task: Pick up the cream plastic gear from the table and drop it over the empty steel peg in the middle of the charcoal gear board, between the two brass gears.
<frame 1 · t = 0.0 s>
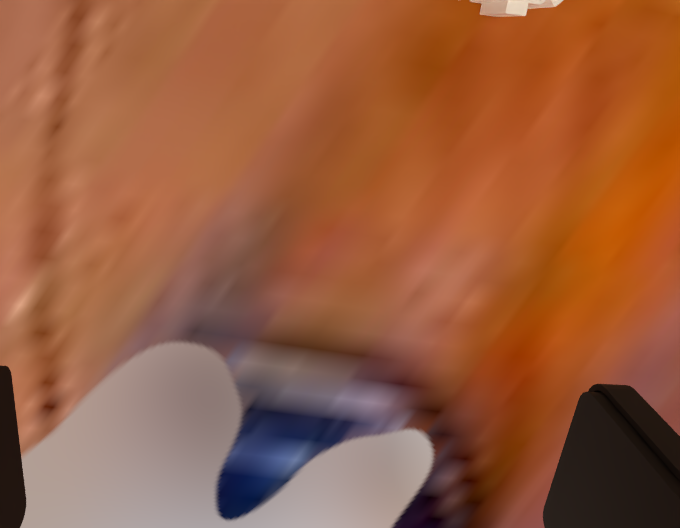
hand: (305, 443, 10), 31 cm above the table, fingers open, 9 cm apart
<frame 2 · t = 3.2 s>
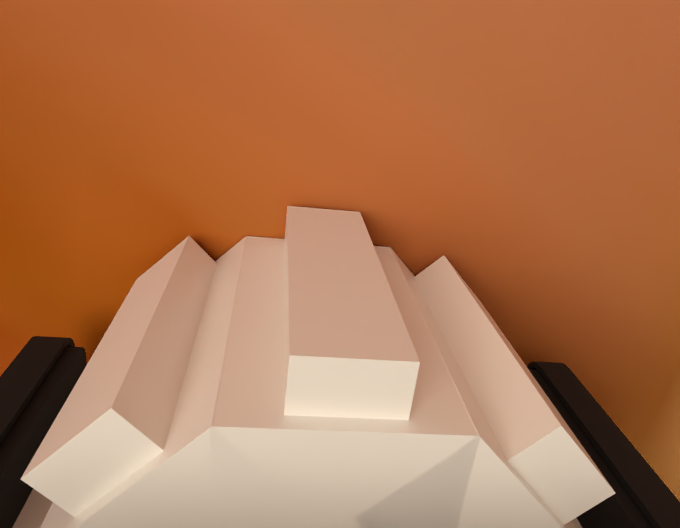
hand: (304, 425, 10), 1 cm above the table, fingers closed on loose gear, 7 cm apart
loose gear: (303, 388, 11), on the table, touching gripper
when the fingers open (5 cm above the table, at t = 9.3 s): loose gear drops 2 cm, resting on gear board.
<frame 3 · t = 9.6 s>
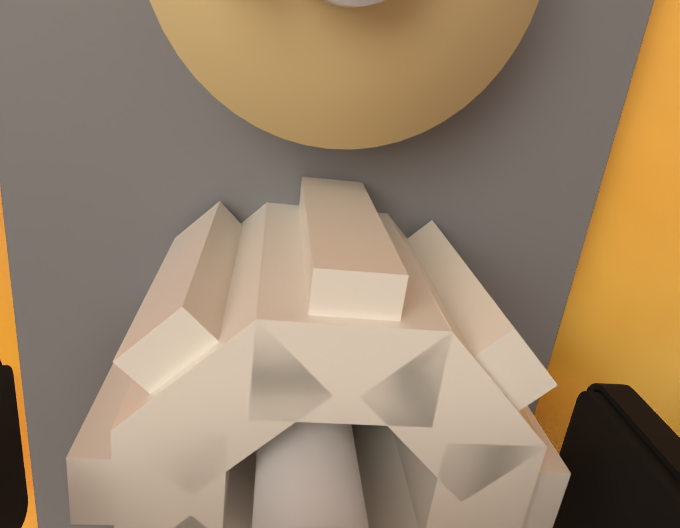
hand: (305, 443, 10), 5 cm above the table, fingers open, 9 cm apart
loose gear: (312, 335, 13), point 1 cm above the table, touching gear board
gear board: (298, 305, 14), on the table
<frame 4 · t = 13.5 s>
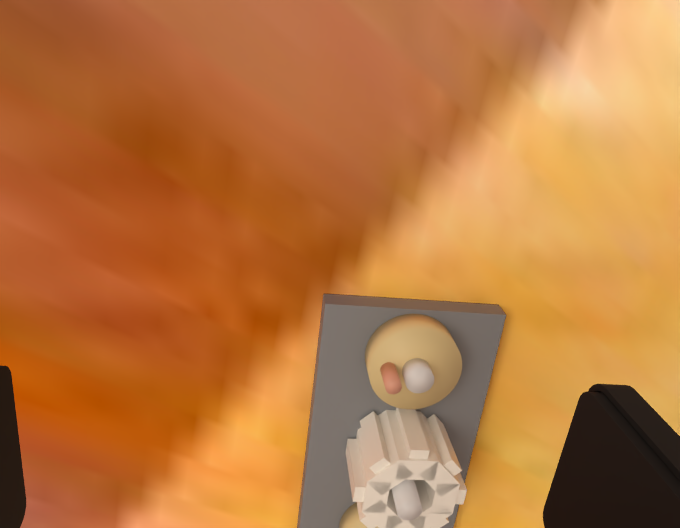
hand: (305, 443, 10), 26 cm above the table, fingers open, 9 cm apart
loose gear: (396, 445, 41), point 1 cm above the table, touching gear board
gear board: (389, 431, 43), on the table
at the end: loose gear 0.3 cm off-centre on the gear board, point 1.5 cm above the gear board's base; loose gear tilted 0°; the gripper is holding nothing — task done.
